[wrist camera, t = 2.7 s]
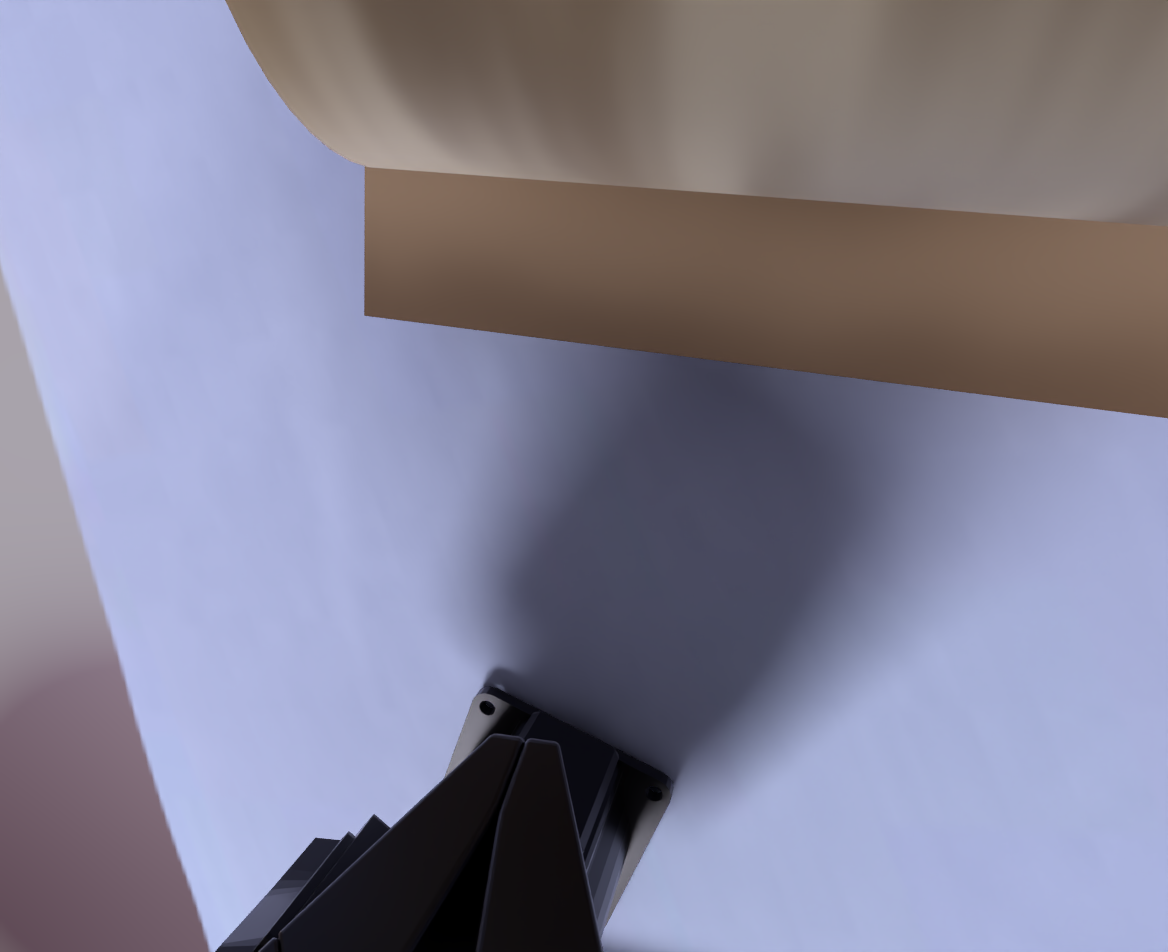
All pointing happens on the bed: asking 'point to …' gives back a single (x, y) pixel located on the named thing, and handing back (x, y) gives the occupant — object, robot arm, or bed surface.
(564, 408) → the bed surface
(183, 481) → the bed surface
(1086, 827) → the bed surface
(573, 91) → the roller
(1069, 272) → the paper towel roll tray
